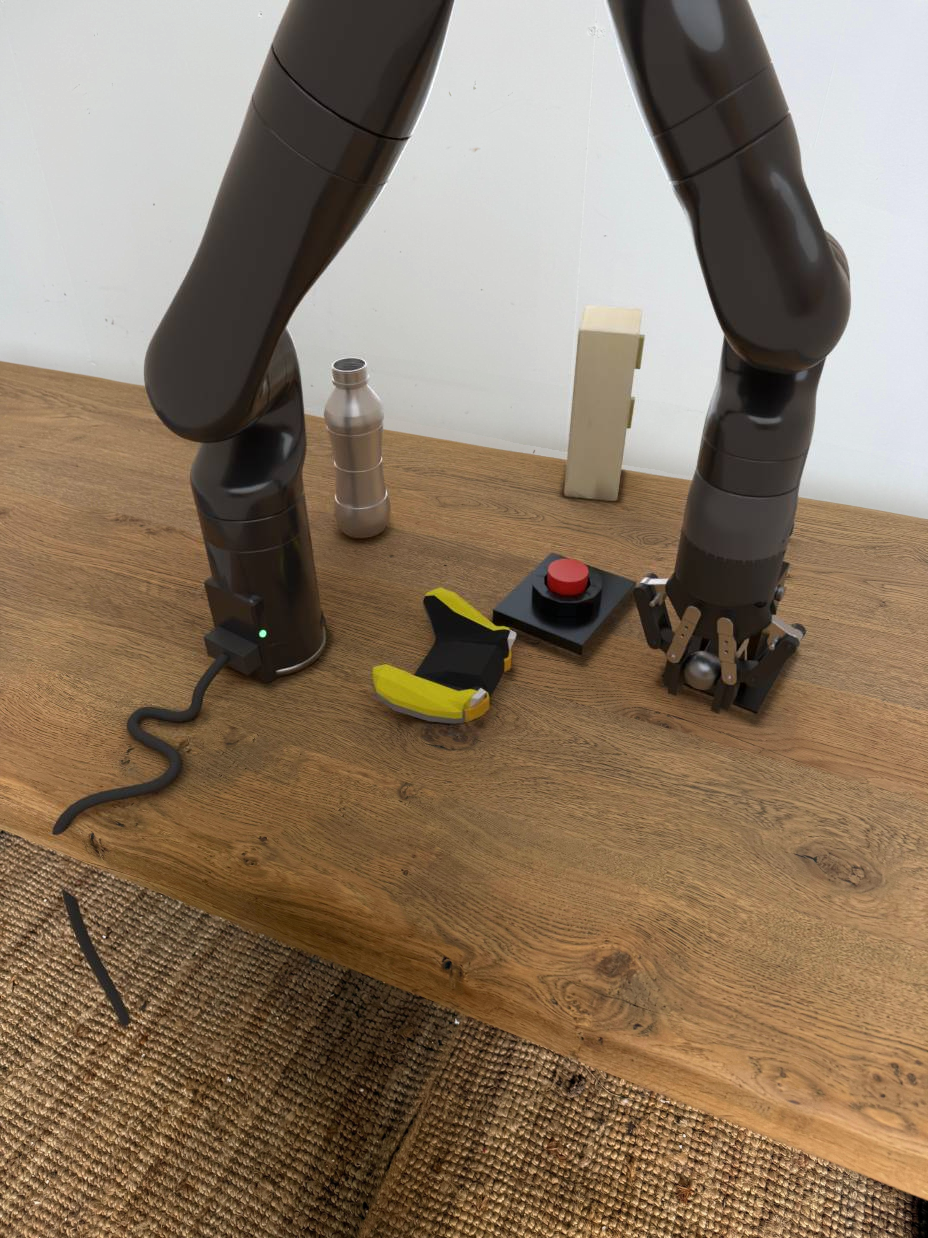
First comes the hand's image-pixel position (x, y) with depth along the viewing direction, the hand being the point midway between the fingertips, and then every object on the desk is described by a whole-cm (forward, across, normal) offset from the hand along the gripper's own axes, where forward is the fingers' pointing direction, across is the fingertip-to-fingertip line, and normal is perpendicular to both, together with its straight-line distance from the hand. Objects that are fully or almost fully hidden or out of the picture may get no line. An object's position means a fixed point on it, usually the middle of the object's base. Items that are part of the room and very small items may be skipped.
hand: (697, 697), depth 73 cm
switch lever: (-3, 0, +5) cm, 6 cm away
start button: (0, -17, +8) cm, 19 cm away
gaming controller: (+4, -21, -7) cm, 22 cm away
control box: (+4, -17, +8) cm, 19 cm away
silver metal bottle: (+4, -44, +9) cm, 45 cm away
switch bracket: (+4, 0, +9) cm, 10 cm away
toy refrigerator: (+4, -26, +33) cm, 43 cm away
